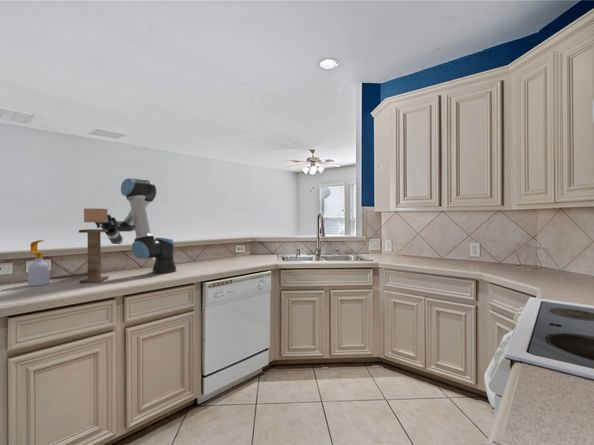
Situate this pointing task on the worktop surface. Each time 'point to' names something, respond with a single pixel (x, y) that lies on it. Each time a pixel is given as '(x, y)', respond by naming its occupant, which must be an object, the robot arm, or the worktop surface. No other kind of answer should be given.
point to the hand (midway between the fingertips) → (100, 213)
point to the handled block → (95, 215)
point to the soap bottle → (38, 268)
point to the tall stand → (94, 256)
